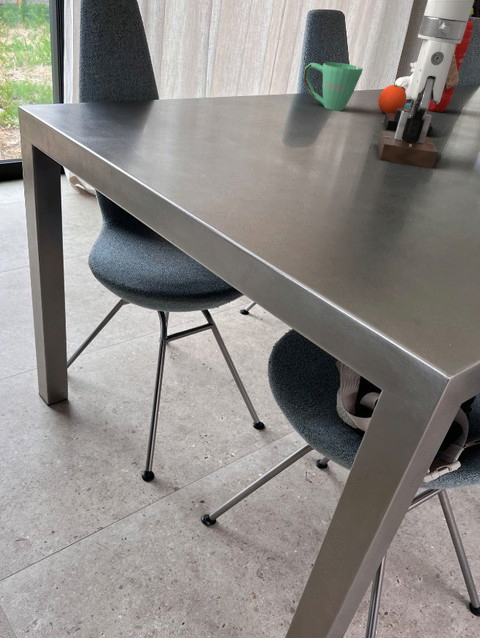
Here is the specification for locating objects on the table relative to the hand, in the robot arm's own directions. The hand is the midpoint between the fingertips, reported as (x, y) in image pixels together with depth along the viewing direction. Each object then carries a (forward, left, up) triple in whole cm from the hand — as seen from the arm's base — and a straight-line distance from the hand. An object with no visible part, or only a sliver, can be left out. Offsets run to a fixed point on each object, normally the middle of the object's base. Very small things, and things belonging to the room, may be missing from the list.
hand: (409, 138), depth 111 cm
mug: (+17, -41, -4) cm, 45 cm away
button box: (-3, -28, -3) cm, 28 cm away
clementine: (0, -45, -4) cm, 45 cm away
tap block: (0, 0, -3) cm, 3 cm away
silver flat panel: (0, 0, 0) cm, 0 cm away
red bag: (-13, -60, -4) cm, 61 cm away
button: (-3, -28, 0) cm, 28 cm away
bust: (-8, -76, -4) cm, 76 cm away
